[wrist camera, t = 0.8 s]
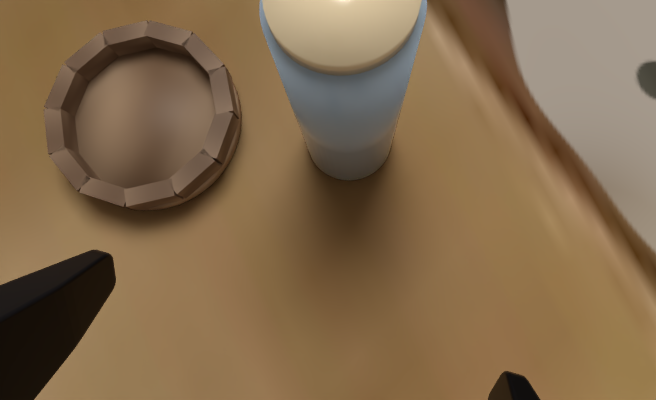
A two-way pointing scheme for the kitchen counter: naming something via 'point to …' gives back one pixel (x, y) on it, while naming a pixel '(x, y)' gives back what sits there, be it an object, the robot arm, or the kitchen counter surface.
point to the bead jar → (345, 74)
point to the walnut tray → (143, 117)
